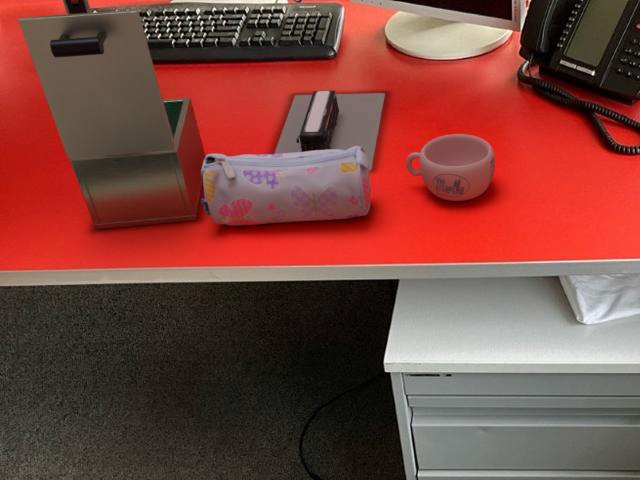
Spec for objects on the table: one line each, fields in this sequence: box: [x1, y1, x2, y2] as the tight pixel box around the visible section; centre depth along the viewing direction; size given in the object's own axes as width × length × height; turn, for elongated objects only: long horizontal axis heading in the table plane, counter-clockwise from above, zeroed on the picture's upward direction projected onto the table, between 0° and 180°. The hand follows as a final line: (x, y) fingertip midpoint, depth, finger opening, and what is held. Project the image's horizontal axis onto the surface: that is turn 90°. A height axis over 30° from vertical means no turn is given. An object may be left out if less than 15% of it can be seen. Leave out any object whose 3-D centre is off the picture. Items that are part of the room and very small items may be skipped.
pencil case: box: [200, 146, 371, 227], centre depth 113 cm, size 21×9×10 cm, turn 92°
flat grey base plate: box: [273, 89, 386, 171], centre depth 133 cm, size 14×25×4 cm, turn 1°
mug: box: [405, 133, 496, 202], centre depth 119 cm, size 12×10×6 cm
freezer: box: [69, 97, 207, 230], centre depth 118 cm, size 16×13×10 cm
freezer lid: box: [17, 9, 176, 160], centre depth 101 cm, size 16×13×5 cm
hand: (90, 44), depth 141 cm, fingers closed on beverage can, 6 cm apart
